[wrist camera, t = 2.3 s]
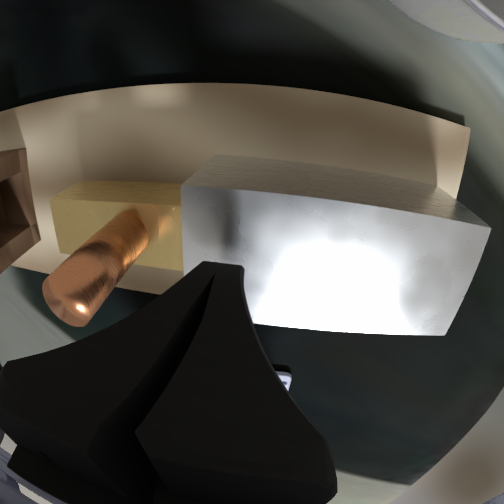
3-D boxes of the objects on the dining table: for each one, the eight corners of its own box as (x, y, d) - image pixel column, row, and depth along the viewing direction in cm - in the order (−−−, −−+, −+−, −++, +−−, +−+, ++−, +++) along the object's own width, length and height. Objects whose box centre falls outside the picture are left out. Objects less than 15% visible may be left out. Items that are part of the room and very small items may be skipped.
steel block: (411, 273, 17) (444, 335, 12) (213, 251, 18) (186, 313, 13) (437, 185, 14) (491, 228, 9) (216, 154, 15) (180, 185, 10)
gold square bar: (418, 265, 15) (478, 374, 8) (88, 229, 16) (1, 310, 9) (433, 214, 14) (518, 311, 7) (82, 180, 15) (-23, 247, 8)
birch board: (410, 315, 19) (412, 320, 19) (10, 260, 21) (6, 264, 21) (465, 127, 13) (470, 128, 12) (-15, 116, 15) (-20, 118, 14)
